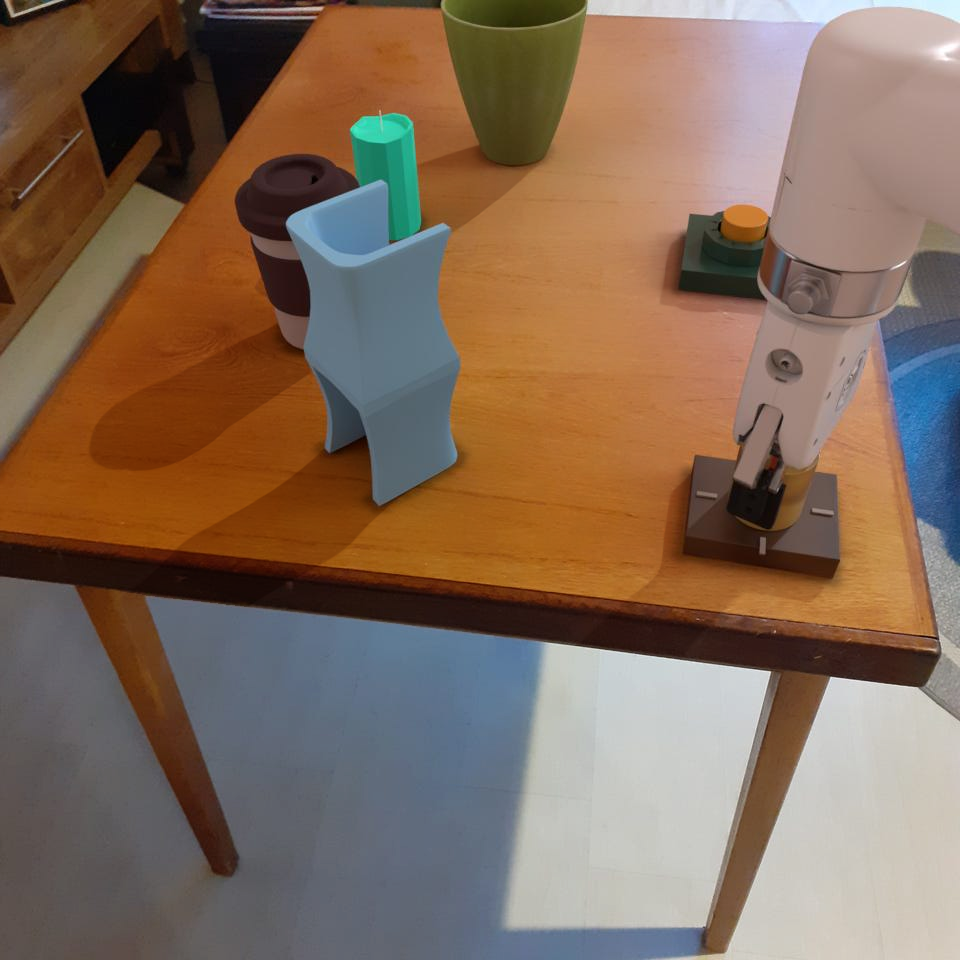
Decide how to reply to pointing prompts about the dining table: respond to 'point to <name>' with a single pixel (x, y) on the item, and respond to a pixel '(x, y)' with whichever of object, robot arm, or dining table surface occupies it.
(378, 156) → the candle
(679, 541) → the dining table surface
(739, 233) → the button
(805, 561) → the dimmer
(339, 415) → the light blue open shell
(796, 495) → the knob
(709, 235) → the switch box
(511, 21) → the flower pot
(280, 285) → the coffee cup
